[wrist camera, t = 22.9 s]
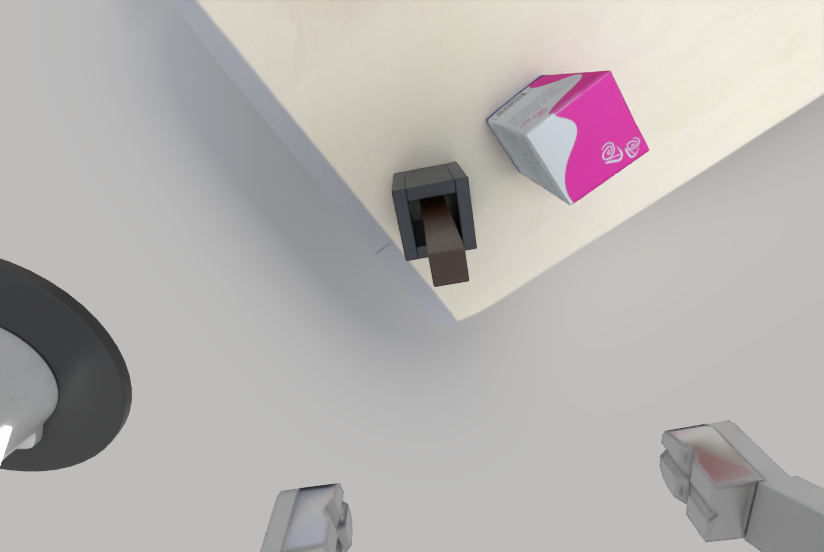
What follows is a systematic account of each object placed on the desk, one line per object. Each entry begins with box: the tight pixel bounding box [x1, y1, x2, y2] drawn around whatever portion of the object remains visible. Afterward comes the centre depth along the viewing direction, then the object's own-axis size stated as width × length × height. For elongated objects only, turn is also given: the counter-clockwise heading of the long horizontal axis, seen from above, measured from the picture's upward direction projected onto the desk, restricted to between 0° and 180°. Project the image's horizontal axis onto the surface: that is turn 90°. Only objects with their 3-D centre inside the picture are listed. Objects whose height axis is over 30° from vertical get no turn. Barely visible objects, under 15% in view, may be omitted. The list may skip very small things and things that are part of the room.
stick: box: [420, 195, 469, 287], centre depth 30 cm, size 2×2×16 cm
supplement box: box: [486, 71, 649, 205], centre depth 29 cm, size 6×6×11 cm
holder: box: [392, 162, 477, 261], centre depth 34 cm, size 6×6×7 cm
